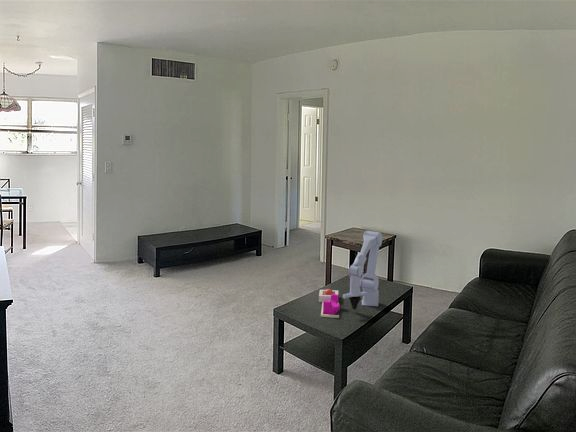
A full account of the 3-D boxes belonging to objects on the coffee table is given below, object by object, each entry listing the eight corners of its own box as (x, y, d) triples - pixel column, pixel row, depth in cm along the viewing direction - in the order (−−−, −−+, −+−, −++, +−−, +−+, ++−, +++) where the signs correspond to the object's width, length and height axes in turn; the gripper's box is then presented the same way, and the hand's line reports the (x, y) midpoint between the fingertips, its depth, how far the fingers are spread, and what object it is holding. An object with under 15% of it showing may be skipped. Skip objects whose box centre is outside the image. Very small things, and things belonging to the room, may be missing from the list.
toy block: (333, 316, 262) (333, 303, 261) (323, 314, 265) (323, 301, 264) (342, 307, 276) (342, 295, 275) (332, 305, 278) (332, 293, 277)
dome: (334, 296, 291) (334, 287, 290) (334, 300, 284) (334, 291, 283) (323, 295, 292) (323, 287, 291) (322, 299, 285) (323, 290, 284)
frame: (339, 305, 279) (339, 303, 279) (338, 317, 259) (339, 315, 259) (322, 304, 280) (322, 302, 280) (320, 316, 260) (320, 314, 260)
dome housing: (338, 296, 293) (338, 290, 293) (338, 303, 282) (338, 296, 281) (319, 295, 295) (319, 289, 294) (318, 302, 283) (318, 295, 283)
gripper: (362, 282, 272) (361, 304, 274) (340, 285, 266) (339, 308, 269) (369, 286, 265) (368, 309, 268) (346, 289, 260) (345, 312, 262)
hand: (354, 308), depth 268 cm, fingers closed
